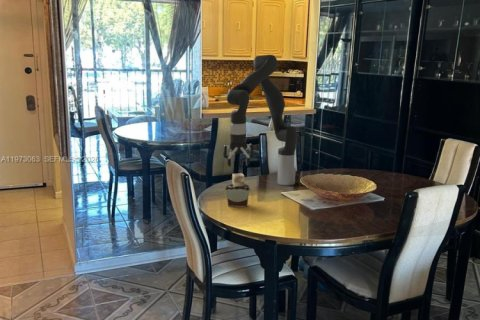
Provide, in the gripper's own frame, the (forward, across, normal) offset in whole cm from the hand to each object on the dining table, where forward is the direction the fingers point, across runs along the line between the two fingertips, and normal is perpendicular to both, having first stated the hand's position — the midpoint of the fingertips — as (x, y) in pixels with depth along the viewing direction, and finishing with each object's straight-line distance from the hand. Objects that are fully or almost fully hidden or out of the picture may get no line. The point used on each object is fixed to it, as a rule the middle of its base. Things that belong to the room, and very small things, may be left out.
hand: (238, 165), depth 213 cm
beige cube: (+10, 0, 0) cm, 10 cm away
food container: (+20, 0, 0) cm, 20 cm away
